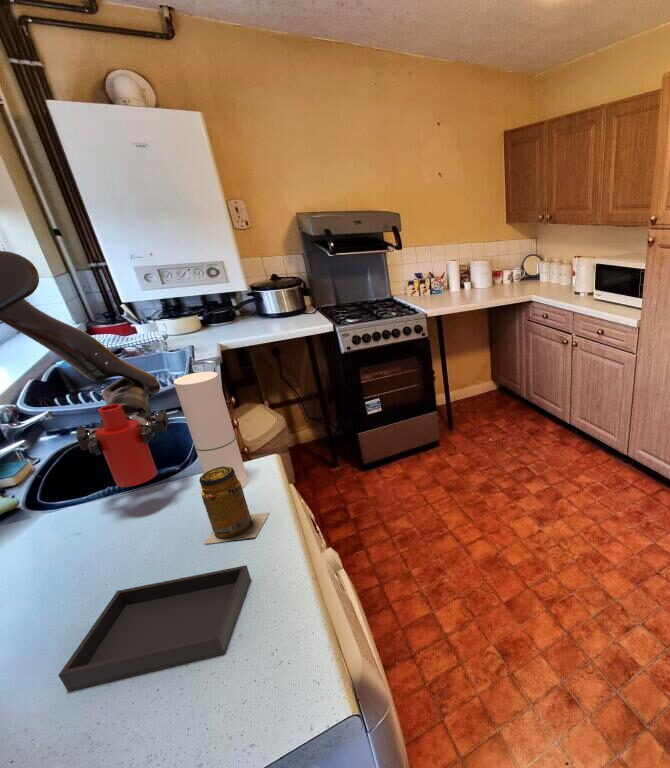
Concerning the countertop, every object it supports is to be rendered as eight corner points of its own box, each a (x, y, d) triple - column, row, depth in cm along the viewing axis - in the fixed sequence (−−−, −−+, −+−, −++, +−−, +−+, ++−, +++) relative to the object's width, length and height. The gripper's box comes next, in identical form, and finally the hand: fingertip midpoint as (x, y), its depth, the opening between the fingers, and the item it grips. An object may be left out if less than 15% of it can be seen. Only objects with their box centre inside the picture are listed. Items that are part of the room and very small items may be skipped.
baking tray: (67, 692, 54) (57, 675, 52) (124, 605, 65) (117, 590, 64) (224, 654, 58) (218, 638, 57) (251, 579, 70) (246, 564, 68)
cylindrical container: (242, 473, 99) (212, 369, 90) (252, 485, 94) (221, 377, 85) (206, 486, 94) (170, 378, 85) (214, 500, 89) (177, 387, 80)
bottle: (109, 489, 81) (78, 416, 75) (126, 472, 86) (99, 402, 81) (148, 484, 82) (120, 412, 77) (163, 467, 88) (138, 398, 83)
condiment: (222, 518, 84) (205, 464, 80) (269, 513, 85) (255, 460, 81) (204, 545, 77) (184, 488, 73) (255, 538, 78) (238, 482, 74)
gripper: (74, 406, 87) (59, 437, 74) (164, 389, 95) (164, 414, 82) (88, 439, 90) (75, 475, 77) (174, 420, 97) (175, 449, 85)
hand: (121, 443), depth 80 cm, fingers closed on bottle, 6 cm apart
